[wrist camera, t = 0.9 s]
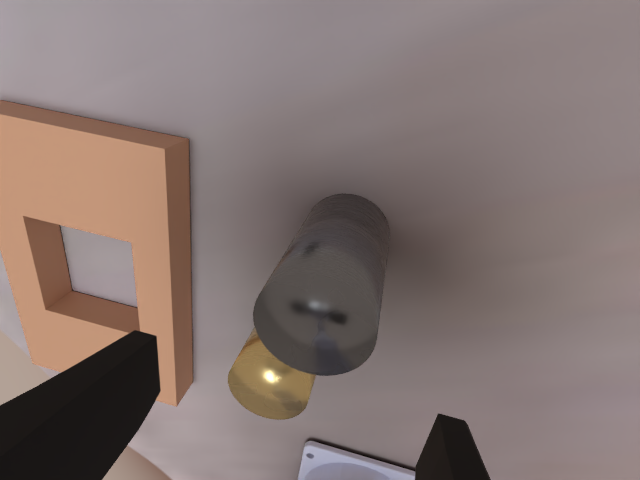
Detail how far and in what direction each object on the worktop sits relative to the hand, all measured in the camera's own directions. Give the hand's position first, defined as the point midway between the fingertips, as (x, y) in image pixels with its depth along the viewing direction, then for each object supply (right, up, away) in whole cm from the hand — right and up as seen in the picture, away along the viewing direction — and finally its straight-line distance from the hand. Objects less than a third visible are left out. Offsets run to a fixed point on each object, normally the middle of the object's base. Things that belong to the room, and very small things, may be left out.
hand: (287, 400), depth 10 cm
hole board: (-11, +3, +13) cm, 17 cm away
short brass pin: (-1, -1, +12) cm, 12 cm away
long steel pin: (+2, +4, +9) cm, 10 cm away
